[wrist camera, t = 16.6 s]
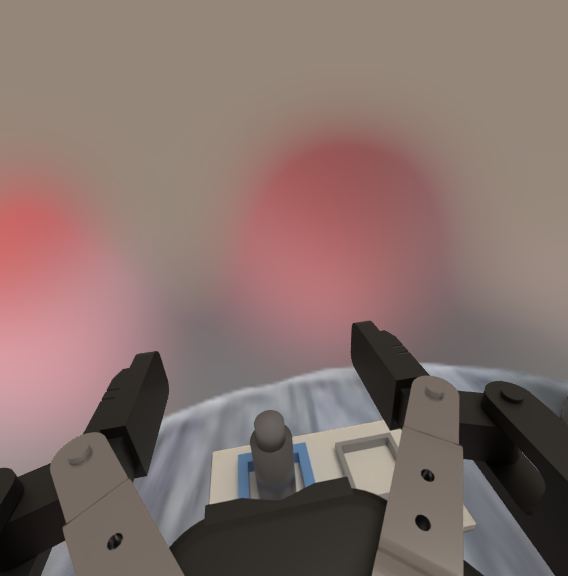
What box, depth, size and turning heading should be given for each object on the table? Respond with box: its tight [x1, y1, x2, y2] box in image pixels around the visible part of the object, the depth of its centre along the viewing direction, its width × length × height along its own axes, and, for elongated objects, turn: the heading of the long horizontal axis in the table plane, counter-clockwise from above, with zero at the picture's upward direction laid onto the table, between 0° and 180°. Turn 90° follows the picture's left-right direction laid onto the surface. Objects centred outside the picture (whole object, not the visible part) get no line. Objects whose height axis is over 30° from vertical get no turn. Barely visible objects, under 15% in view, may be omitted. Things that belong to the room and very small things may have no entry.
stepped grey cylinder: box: [250, 410, 297, 500], centre depth 32 cm, size 4×4×12 cm
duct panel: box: [209, 420, 476, 532], centre depth 35 cm, size 28×14×3 cm, turn 99°
